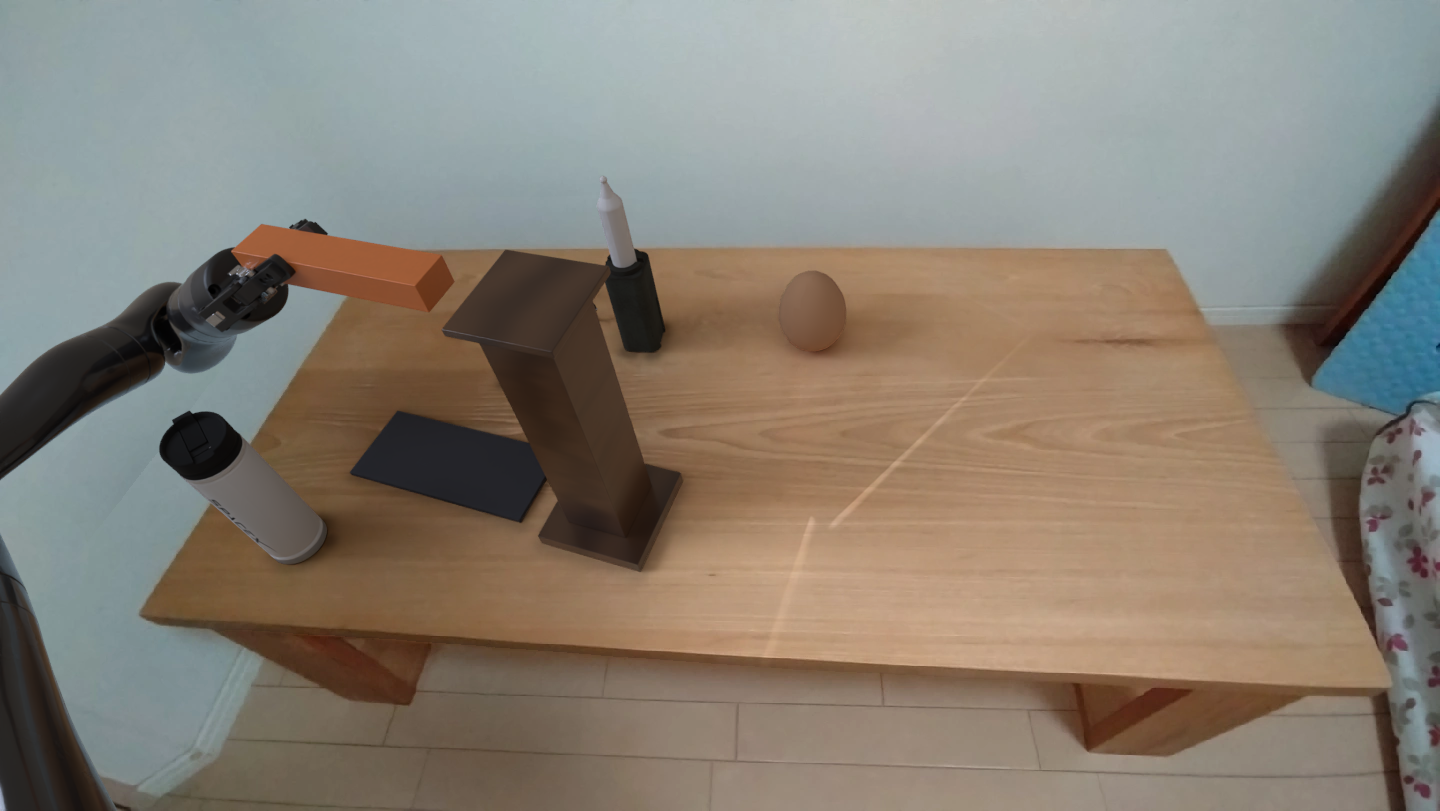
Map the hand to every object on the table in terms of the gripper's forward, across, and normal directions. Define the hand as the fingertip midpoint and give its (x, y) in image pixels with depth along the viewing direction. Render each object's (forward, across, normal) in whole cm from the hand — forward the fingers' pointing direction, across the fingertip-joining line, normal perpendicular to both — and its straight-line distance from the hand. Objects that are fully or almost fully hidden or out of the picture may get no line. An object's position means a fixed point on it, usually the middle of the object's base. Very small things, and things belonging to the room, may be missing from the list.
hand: (301, 248), depth 68 cm
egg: (+16, -30, -47) cm, 58 cm away
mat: (-15, -1, -29) cm, 33 cm away
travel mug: (-26, +14, -23) cm, 38 cm away
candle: (-3, -26, -36) cm, 45 cm away
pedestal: (+3, 0, -40) cm, 40 cm away
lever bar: (+2, 0, -4) cm, 5 cm away
